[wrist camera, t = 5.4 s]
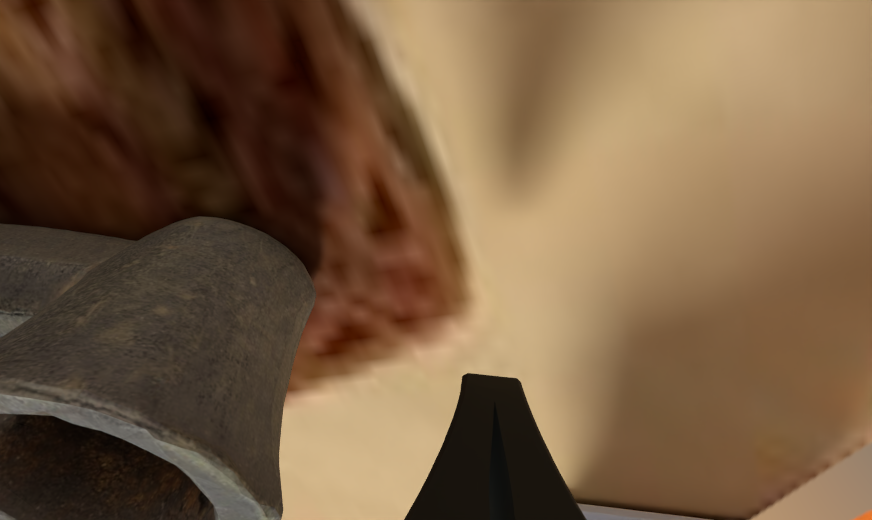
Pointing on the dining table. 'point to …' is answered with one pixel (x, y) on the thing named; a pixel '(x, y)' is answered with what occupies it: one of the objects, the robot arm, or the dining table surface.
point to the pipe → (146, 371)
